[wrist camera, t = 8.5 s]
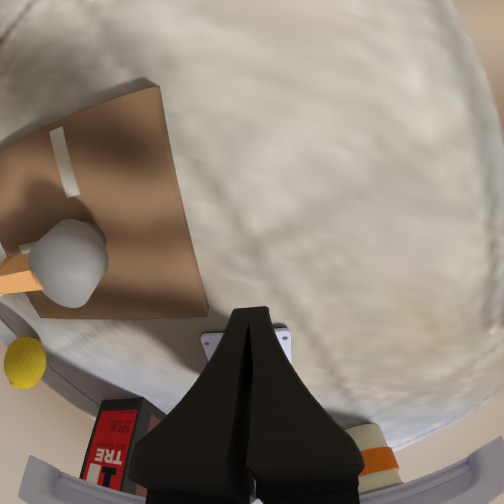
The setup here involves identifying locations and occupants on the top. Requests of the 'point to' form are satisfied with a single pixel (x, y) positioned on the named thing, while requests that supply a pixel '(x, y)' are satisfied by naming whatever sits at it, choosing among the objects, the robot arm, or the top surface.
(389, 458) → the reusable coffee cup
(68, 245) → the orange and grey bar
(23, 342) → the lemon
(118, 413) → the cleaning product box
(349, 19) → the top surface
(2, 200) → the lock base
